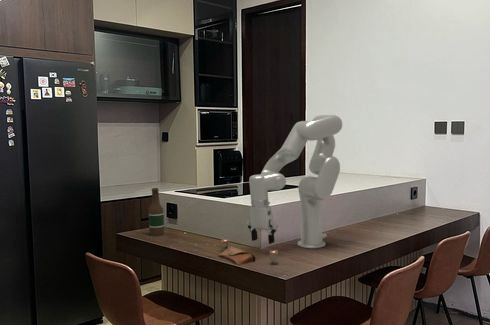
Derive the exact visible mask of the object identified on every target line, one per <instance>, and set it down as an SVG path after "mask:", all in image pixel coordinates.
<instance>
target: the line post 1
mask: <svg viewBox="0 0 490 325" xmlns="http://www.w3.org/2000/svg"><path fill="white" fill-rule="evenodd" d="M220 242H221V253H222V252H223V251H224V250H226V249H227V248H228V247H229V242H230V240H229V239H228V238H222V239H220Z"/></svg>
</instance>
